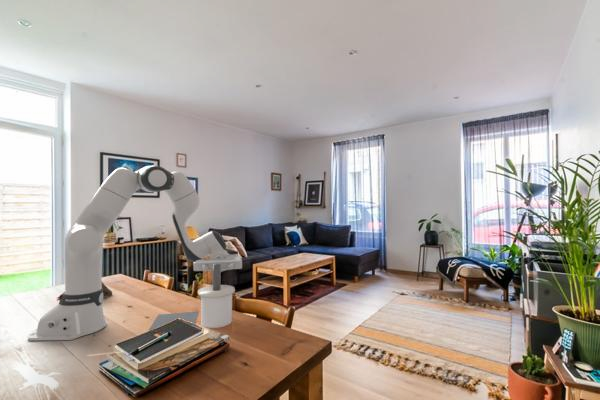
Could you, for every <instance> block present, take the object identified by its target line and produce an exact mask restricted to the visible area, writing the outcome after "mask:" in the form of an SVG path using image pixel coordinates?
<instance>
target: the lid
mask: <svg viewBox="0 0 600 400" xmlns="http://www.w3.org/2000/svg"><path fill="white" fill-rule="evenodd" d="M221 273H222V272H221V264H219V263H216V264H213V270H212V285H206V286H203V287H201V288H199V289H198V290H197V295H198V296H199V297H200V298H201V297H205V298H219V297H225V296H228V295H231V294H232V295H233V294H235V291H236V289H235V286H233V285H228V284H221V278H222V277H221Z"/></svg>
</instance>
